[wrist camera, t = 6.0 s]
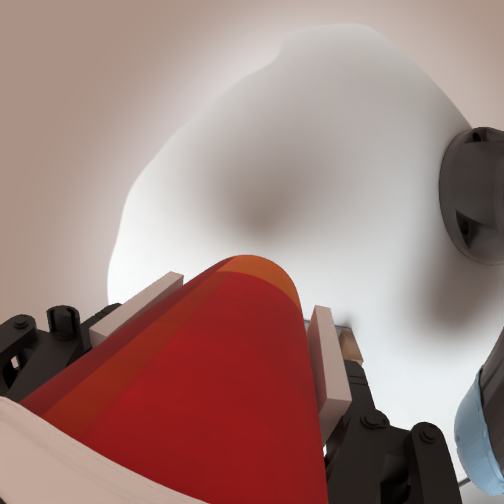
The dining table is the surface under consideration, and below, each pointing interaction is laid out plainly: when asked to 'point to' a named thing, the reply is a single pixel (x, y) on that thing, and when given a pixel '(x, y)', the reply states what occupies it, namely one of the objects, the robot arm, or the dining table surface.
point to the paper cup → (179, 405)
